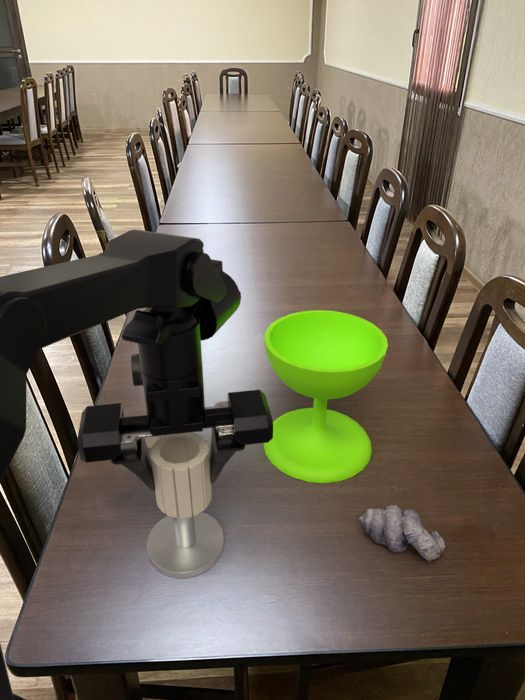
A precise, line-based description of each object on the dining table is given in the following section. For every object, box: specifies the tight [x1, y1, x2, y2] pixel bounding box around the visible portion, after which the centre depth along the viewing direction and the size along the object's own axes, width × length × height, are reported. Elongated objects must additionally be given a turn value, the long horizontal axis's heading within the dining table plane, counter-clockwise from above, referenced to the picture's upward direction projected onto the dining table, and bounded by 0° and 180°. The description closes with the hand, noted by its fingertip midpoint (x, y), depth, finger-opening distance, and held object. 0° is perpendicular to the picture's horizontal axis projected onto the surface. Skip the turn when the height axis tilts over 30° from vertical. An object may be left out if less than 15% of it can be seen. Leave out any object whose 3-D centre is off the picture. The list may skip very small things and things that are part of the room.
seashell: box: [359, 504, 446, 562], centre depth 63 cm, size 5×5×10 cm
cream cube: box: [145, 436, 161, 449], centre depth 78 cm, size 2×2×2 cm
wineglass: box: [262, 309, 389, 484], centre depth 75 cm, size 16×16×18 cm
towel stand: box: [146, 511, 225, 579], centre depth 61 cm, size 9×9×9 cm
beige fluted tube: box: [150, 432, 213, 519], centre depth 58 cm, size 6×6×7 cm
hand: (183, 484), depth 59 cm, fingers closed on beige fluted tube, 6 cm apart
